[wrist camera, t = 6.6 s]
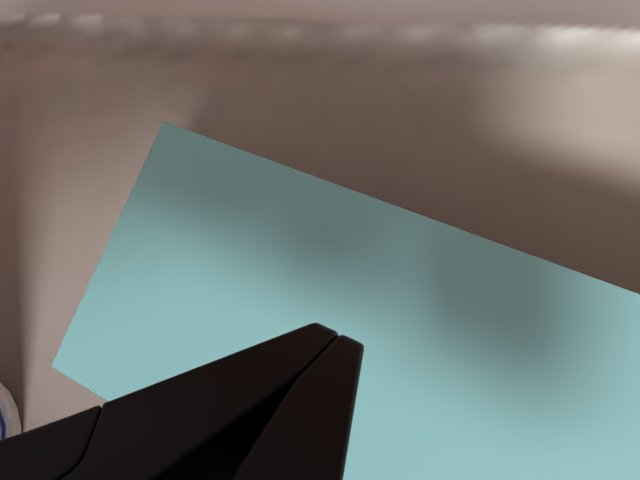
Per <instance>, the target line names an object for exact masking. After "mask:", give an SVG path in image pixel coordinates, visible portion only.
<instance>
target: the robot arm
mask: <svg viewBox="0 0 640 480" xmlns="http://www.w3.org/2000/svg"><path fill="white" fill-rule="evenodd" d="M363 353H364V345H363V344H362V343H360V342H358V341H356V340H354V339H352V338H350V337H347V336H345V335H338V333H337V332H336V331H334V330H332V329H330V328H328V327H326V326H324V325H322V324H319V323H311V324H308V325H306V326H303V327H300V328H298V329H295V330H293V331H290V332H288V333H285V334H282V335H280V336H277V337H275V338H272V339H269V340H267V341H264V342H262V343H259V344H256V345H254V346H251V347H249V348H246V349H243V350H241V351H238V352H236V353H233V354H230V355H228V356H225V357H223V358H220V359H217V360H215V361H212V362H210V363H207V364H204V365H202V366H199V367H197V368H194V369H191V370H189V371H186V372H184V373H181V374H178V375H176V376H173V377H171V378H168V379H165V380H163V381H160V382H158V383H155V384H152V385H150V386H147V387H145V388H142V389H140V390H137V391H134V392H132V393H129V394H127V395H124V396H121V397H119V398H116V399H114V400H111V401H108V402H106V403H104V404H103V406H102V408H101V406H95V407H92V408H90V409H87V410H84V411H82V412H79V413H77V414H74V415H71V416H69V417H66V418H63V419H60V420H58V421H55V422H52V423H49V424H47V425H44V426H41V427H38V428H35V429H33V430H30V431H27V432H24V433H21V434H18V435H15V436H11V437H8V438H5V439H2V440H0V480H343V477H344V470H345V464H346V458H347V452H348V446H349V439H350V433H351V427H352V421H353V415H354V408H355V402H356V396H357V390H358V384H359V377H360V371H361V365H362V359H363Z"/></svg>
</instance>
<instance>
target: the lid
mask: <svg viewBox="0 0 640 480" xmlns="http://www.w3.org/2000/svg"><path fill="white" fill-rule="evenodd" d="M311 323H319V324H322V325H324V326H326V327H328V328H330V329H332V330H334V331H336V332H337V333H338V335H345V336H347V337H350V338H352V339H354V340H356V341H358V342H360V343H362V344H363V345H364V353H363V359H362V365H361V371H360V377H359V384H358V390H357V396H356V402H355V408H354V415H353V421H352V427H351V433H350V439H349V446H348V452H347V458H346V464H345V470H344V477H343V480H640V294H637V293H635V292H632V291H629V290H626V289H624V288H621V287H618V286H615V285H613V284H610V283H607V282H604V281H602V280H599V279H596V278H593V277H591V276H588V275H585V274H582V273H580V272H577V271H574V270H571V269H569V268H566V267H563V266H560V265H558V264H555V263H552V262H549V261H547V260H544V259H541V258H538V257H536V256H533V255H530V254H527V253H525V252H522V251H519V250H516V249H514V248H511V247H508V246H505V245H503V244H500V243H497V242H494V241H492V240H489V239H486V238H483V237H481V236H478V235H475V234H472V233H470V232H467V231H464V230H461V229H459V228H456V227H453V226H450V225H448V224H445V223H442V222H439V221H437V220H434V219H431V218H428V217H426V216H423V215H420V214H417V213H415V212H412V211H409V210H406V209H404V208H401V207H398V206H395V205H393V204H390V203H387V202H384V201H382V200H379V199H376V198H373V197H371V196H368V195H365V194H362V193H360V192H357V191H354V190H351V189H349V188H346V187H343V186H340V185H338V184H335V183H332V182H329V181H327V180H324V179H321V178H318V177H316V176H313V175H310V174H307V173H305V172H302V171H299V170H296V169H294V168H291V167H288V166H285V165H283V164H280V163H277V162H274V161H272V160H269V159H266V158H263V157H261V156H258V155H255V154H252V153H250V152H247V151H244V150H241V149H239V148H236V147H233V146H230V145H228V144H225V143H222V142H219V141H217V140H214V139H211V138H208V137H206V136H203V135H200V134H197V133H195V132H192V131H189V130H186V129H184V128H181V127H178V126H175V125H173V124H170V123H167V122H163V124H162V126H161V128H160V130H159V133H158V135H157V137H156V139H155V141H154V143H153V146H152V148H151V150H150V152H149V154H148V156H147V159H146V161H145V163H144V165H143V167H142V170H141V172H140V174H139V176H138V178H137V180H136V183H135V185H134V187H133V189H132V191H131V193H130V196H129V198H128V200H127V202H126V204H125V206H124V209H123V211H122V213H121V215H120V217H119V220H118V222H117V224H116V226H115V228H114V230H113V233H112V235H111V237H110V239H109V241H108V243H107V246H106V248H105V250H104V252H103V254H102V257H101V259H100V261H99V263H98V265H97V267H96V270H95V272H94V274H93V276H92V278H91V280H90V283H89V285H88V287H87V289H86V291H85V293H84V296H83V298H82V300H81V302H80V304H79V307H78V309H77V311H76V313H75V315H74V317H73V320H72V322H71V324H70V326H69V328H68V330H67V333H66V335H65V337H64V339H63V341H62V343H61V346H60V348H59V350H58V352H57V354H56V357H55V359H54V361H53V363H52V365H51V367H53V368H55V369H56V370H58V371H60V372H61V373H63V374H64V375H66V376H68V377H69V378H71V379H73V380H74V381H76V382H78V383H79V384H81V385H83V386H84V387H86V388H87V389H89V390H91V391H92V392H94V393H96V394H97V395H99V396H101V397H102V398H104V399H106V400H107V401H111V400H114V399H116V398H119V397H121V396H124V395H127V394H129V393H132V392H134V391H137V390H140V389H142V388H145V387H147V386H150V385H152V384H155V383H158V382H160V381H163V380H165V379H168V378H171V377H173V376H176V375H178V374H181V373H184V372H186V371H189V370H191V369H194V368H197V367H199V366H202V365H204V364H207V363H210V362H212V361H215V360H217V359H220V358H223V357H225V356H228V355H230V354H233V353H236V352H238V351H241V350H243V349H246V348H249V347H251V346H254V345H256V344H259V343H262V342H264V341H267V340H269V339H272V338H275V337H277V336H280V335H282V334H285V333H288V332H290V331H293V330H295V329H298V328H300V327H303V326H306V325H308V324H311Z"/></svg>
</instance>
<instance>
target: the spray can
mask: <svg viewBox="0 0 640 480" xmlns="http://www.w3.org/2000/svg"><path fill="white" fill-rule="evenodd" d="M18 434H21V423H20V417H19V412H18V408H17V406H16V404H15V402H14V400H13V398H12V395H11V393H10V392H9V391H8V390H7V389H6V388H5V387H4V386H3V384H2V383H1V382H0V440H2V439H5V438H8V437H11V436H15V435H18Z"/></svg>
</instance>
